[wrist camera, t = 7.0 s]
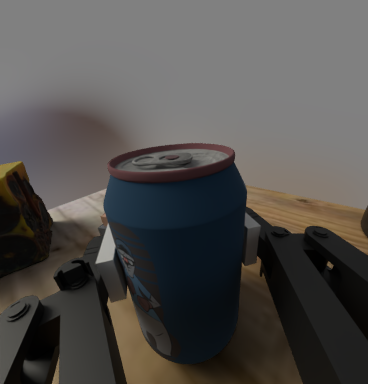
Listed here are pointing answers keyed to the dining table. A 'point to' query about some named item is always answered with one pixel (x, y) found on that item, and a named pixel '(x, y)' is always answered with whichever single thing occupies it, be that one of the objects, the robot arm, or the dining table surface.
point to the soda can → (180, 244)
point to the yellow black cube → (21, 221)
